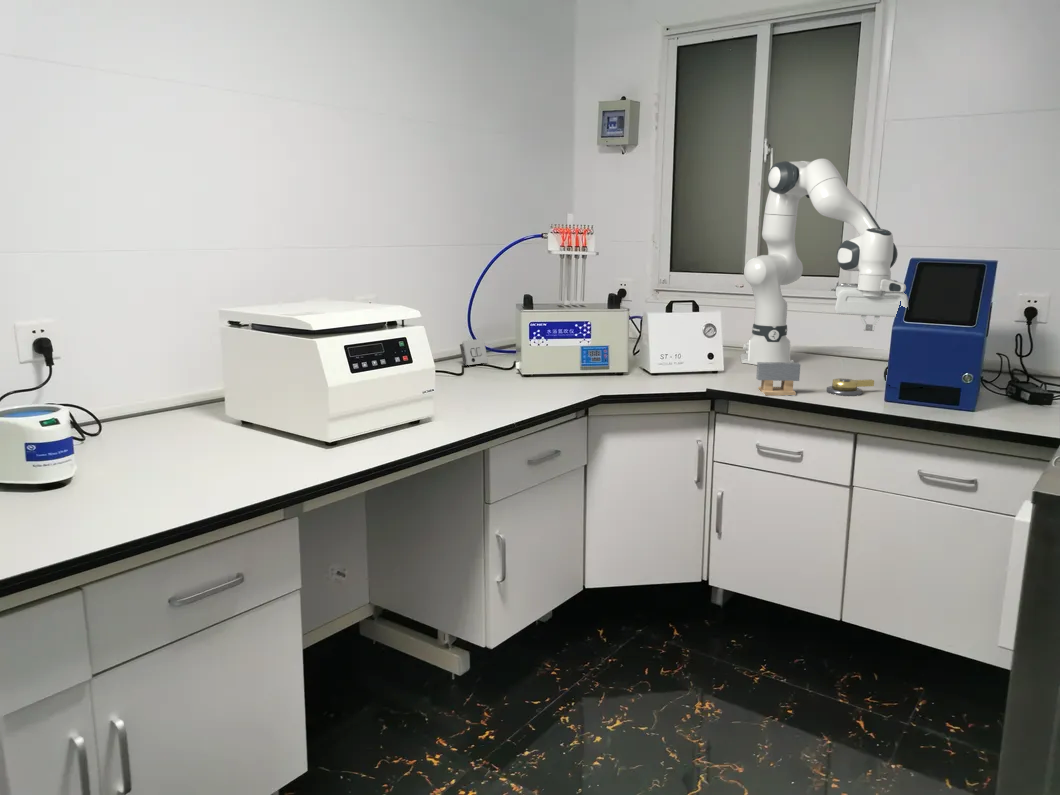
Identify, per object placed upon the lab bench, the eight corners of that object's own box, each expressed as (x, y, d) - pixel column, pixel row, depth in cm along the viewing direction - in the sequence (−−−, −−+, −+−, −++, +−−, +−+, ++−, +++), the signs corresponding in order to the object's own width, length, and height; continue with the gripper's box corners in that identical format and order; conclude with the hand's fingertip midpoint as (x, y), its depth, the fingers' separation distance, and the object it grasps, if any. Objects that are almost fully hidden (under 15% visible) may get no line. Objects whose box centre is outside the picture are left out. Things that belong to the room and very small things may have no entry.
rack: (758, 389, 243) (759, 376, 242) (787, 389, 243) (788, 377, 242) (764, 395, 235) (765, 382, 234) (795, 395, 235) (796, 382, 234)
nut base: (821, 388, 244) (822, 385, 244) (854, 389, 244) (854, 385, 244) (832, 395, 234) (833, 392, 234) (867, 396, 234) (867, 392, 234)
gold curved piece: (865, 385, 243) (866, 376, 243) (878, 390, 237) (879, 381, 236) (827, 386, 242) (828, 377, 241) (839, 391, 235) (840, 382, 234)
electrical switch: (468, 367, 281) (466, 341, 280) (459, 366, 285) (457, 340, 283) (488, 364, 287) (486, 338, 286) (479, 363, 291) (478, 338, 289)
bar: (756, 378, 240) (757, 362, 239) (796, 378, 239) (798, 362, 238) (758, 380, 237) (759, 363, 236) (799, 380, 236) (800, 364, 235)
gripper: (835, 283, 236) (831, 329, 239) (911, 286, 228) (905, 334, 231) (837, 282, 242) (832, 327, 245) (910, 284, 233) (905, 331, 236)
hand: (868, 330), depth 238 cm, fingers closed
